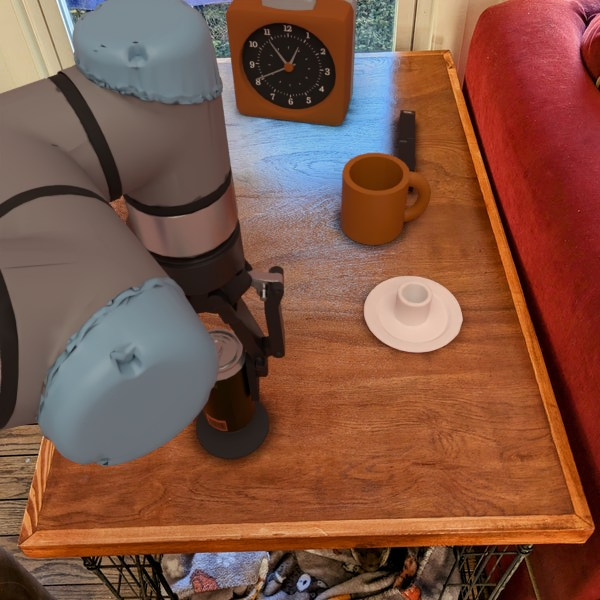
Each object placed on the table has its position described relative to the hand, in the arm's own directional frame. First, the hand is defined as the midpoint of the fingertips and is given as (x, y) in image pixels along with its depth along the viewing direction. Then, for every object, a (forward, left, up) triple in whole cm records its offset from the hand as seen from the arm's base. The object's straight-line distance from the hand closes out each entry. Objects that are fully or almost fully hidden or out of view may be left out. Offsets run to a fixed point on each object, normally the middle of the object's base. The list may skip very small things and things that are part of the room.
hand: (225, 390), depth 63 cm
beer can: (0, 0, -5) cm, 5 cm away
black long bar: (+45, +26, -8) cm, 52 cm away
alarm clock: (+38, +47, -8) cm, 61 cm away
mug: (+33, +16, -8) cm, 37 cm away
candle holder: (+26, +1, -8) cm, 27 cm away
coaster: (0, 0, -7) cm, 7 cm away
